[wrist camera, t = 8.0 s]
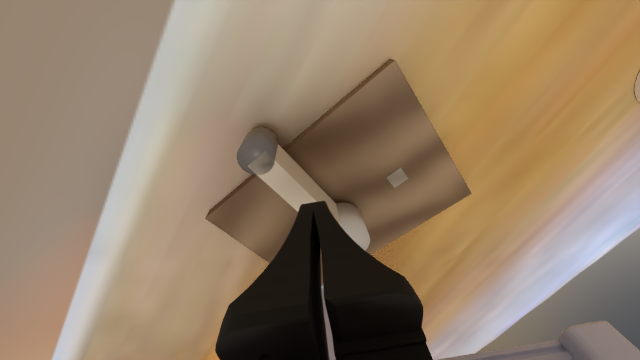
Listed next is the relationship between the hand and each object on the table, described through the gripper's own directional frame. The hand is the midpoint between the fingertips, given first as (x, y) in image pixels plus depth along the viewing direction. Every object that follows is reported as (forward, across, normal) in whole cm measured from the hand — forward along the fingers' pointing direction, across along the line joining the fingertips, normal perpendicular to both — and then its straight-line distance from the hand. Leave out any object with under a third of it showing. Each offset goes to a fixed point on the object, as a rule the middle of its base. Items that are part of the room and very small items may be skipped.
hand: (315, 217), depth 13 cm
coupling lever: (+8, +1, +3) cm, 9 cm away
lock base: (+10, -2, +6) cm, 12 cm away
